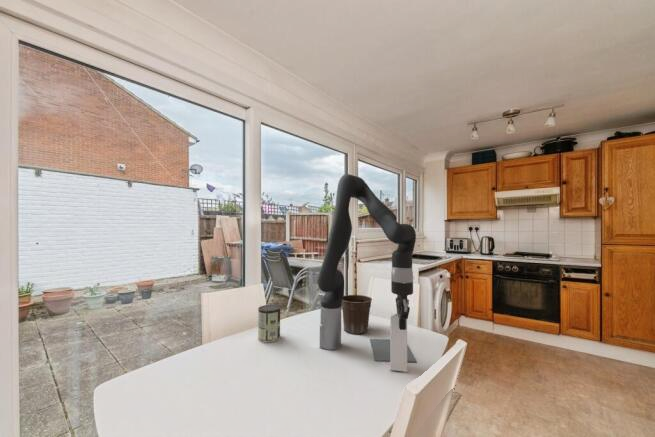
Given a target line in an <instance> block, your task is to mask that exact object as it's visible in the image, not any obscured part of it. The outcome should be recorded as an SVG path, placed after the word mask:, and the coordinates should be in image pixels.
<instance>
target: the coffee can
mask: <svg viewBox="0 0 655 437" xmlns="http://www.w3.org/2000/svg"><path fill="white" fill-rule="evenodd" d="M257 312H258V314H257V315H258V319H257V321H258V322H257V323H258V324H257V326H258V327H257V328H258V329H257V340H258V341H259V342H263V343H272V342H276V341H279V340H280V339H281V306H280V305H277V304H265V305H261V306H258V308H257Z"/></svg>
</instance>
